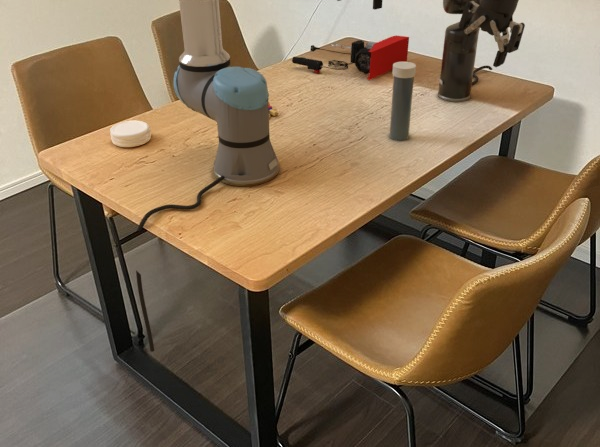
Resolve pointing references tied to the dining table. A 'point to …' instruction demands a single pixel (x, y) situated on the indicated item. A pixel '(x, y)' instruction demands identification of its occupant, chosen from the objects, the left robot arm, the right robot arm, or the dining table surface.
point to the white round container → (130, 133)
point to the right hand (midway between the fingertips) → (481, 57)
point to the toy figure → (271, 111)
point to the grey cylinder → (401, 108)
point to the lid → (404, 69)
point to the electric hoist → (366, 56)
